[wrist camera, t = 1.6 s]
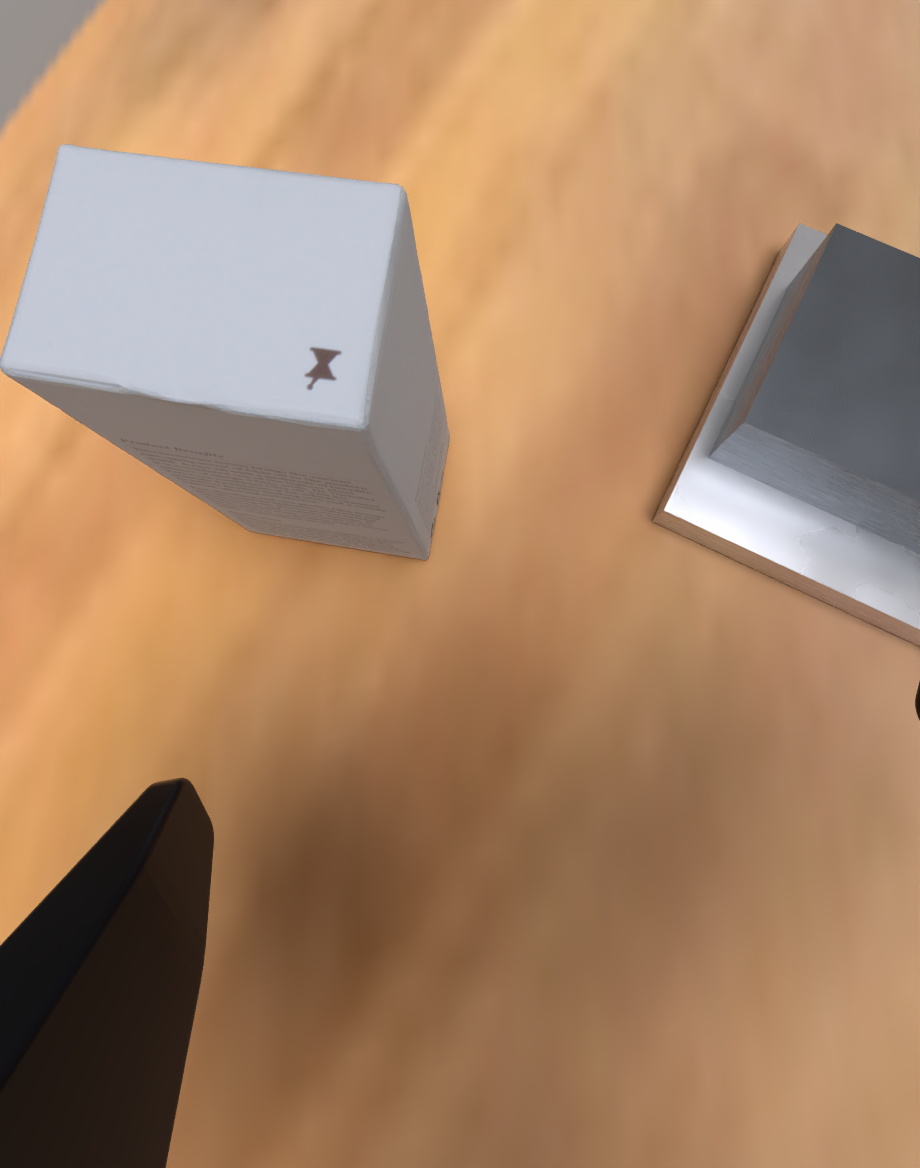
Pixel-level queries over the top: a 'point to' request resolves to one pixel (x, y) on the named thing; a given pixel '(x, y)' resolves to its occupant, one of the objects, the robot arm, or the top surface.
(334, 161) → the top surface
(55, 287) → the skincare box
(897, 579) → the rail plate
